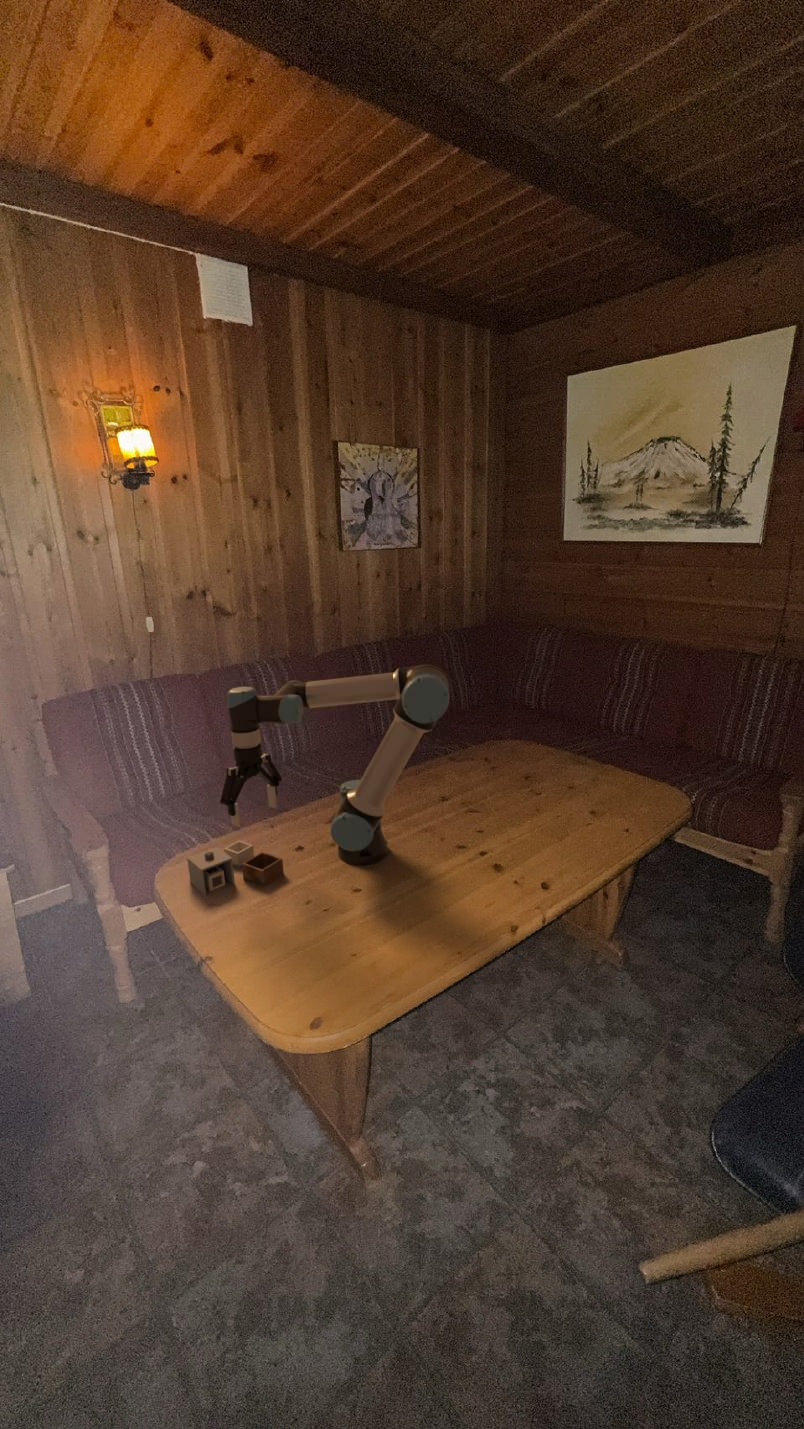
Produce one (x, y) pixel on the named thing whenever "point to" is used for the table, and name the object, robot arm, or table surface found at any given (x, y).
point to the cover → (209, 866)
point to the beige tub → (239, 852)
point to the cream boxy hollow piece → (214, 878)
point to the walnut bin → (262, 869)
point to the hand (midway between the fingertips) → (255, 815)
